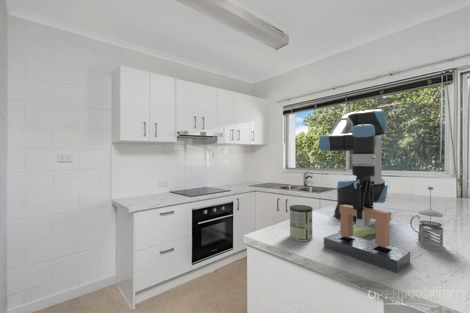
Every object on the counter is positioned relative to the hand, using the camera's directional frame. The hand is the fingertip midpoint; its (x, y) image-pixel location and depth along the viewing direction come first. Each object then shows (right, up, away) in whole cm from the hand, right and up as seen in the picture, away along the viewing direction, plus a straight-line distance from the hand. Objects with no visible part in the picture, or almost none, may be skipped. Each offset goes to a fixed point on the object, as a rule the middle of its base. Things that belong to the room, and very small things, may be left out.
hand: (363, 226), depth 87 cm
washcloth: (+11, -12, +23) cm, 28 cm away
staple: (0, -5, 0) cm, 5 cm away
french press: (+32, -11, +9) cm, 35 cm away
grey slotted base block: (0, -11, 0) cm, 11 cm away
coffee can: (-19, -11, +19) cm, 29 cm away
